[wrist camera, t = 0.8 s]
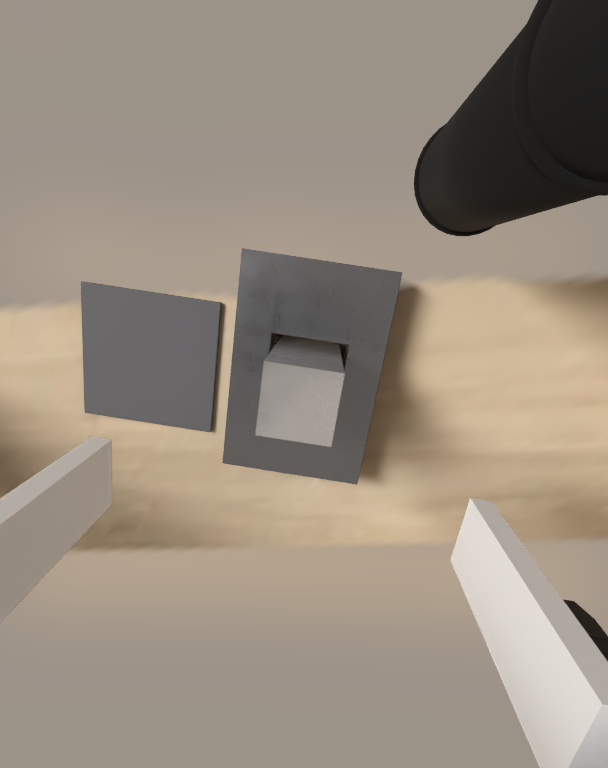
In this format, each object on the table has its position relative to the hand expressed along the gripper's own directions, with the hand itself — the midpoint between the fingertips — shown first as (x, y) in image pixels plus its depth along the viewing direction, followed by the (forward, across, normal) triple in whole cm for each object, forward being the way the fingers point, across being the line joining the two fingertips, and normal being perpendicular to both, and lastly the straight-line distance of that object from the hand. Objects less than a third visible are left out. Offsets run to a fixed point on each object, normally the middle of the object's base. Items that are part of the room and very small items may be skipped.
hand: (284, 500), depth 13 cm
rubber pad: (+20, -14, -2) cm, 25 cm away
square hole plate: (+20, 0, 0) cm, 20 cm away
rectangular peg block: (+20, 0, 0) cm, 20 cm away
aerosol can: (+20, +10, +16) cm, 28 cm away
